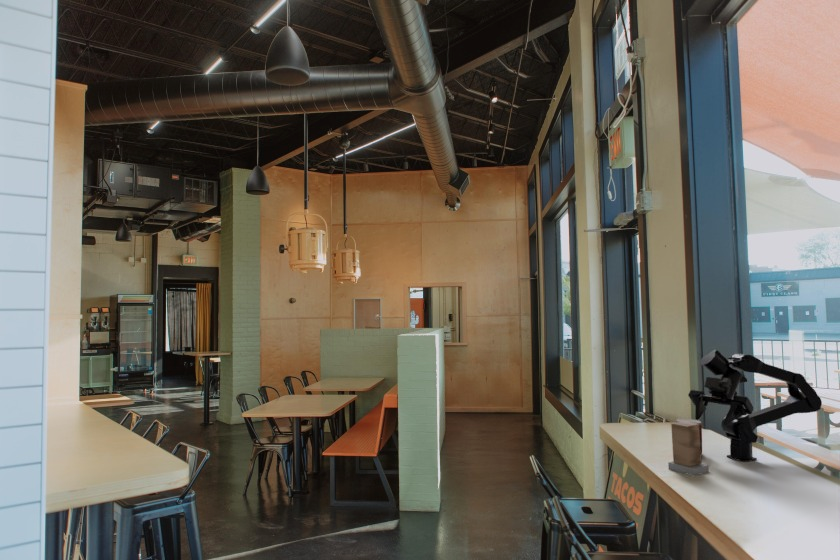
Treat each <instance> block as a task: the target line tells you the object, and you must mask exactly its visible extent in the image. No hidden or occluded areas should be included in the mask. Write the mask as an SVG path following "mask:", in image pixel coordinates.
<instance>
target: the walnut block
mask: <svg viewBox="0 0 840 560" xmlns="http://www.w3.org/2000/svg"><path fill="white" fill-rule="evenodd" d="M670 425H671V426H670V428H671V440H672V444H671V445H672V457H673V458H672V459H673V461H674V463H677V464H681V465H685V466H689V467H691V466H694V465H698V464H701V463H702V454H701V451H700V435H699V424H696V423H691V422H685V421H680V422H676V421H675V422H672V423H671V424H670ZM673 461H672V462H673Z"/></svg>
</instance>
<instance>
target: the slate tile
mask: <svg viewBox="0 0 840 560" xmlns="http://www.w3.org/2000/svg"><path fill="white" fill-rule="evenodd" d="M709 466H710V465H709V464H705V463H702V462H701V464H698V465H694V466H691V467H689V466H685V465H681V464H677V463H674V461H669V462H668V466H667V467H668V470H672V471H674V470H675V472H678V471H680V472H679V473H681V472H683V473H682V474H685V473H688V474H691V475H690V476H692V475H694V476H696V475H695V474H698V475H701V474H700V473H702V474H707V473H709V472H710V471H709V470H710V468H709ZM688 474H687V475H688Z"/></svg>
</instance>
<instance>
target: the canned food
mask: <svg viewBox="0 0 840 560" xmlns="http://www.w3.org/2000/svg"><path fill="white" fill-rule="evenodd" d="M680 421H685V422H691V423H696V424H699V435H700V451H701V455H702V454H703V430H702V429H703V427H702V421H700V420H699V419H698V420H696V419H691V418H676V419H675V423H676V422H680Z"/></svg>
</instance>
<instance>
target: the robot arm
mask: <svg viewBox="0 0 840 560" xmlns="http://www.w3.org/2000/svg"><path fill="white" fill-rule="evenodd" d="M700 365H702V366H703V367H704V368H706V370H707V371H708V372H710V373H711V374H712V375H714V376H720V377H718V378H717V377H710V376H706V377H705V381H704V387H705V388H706V389H708V393H709V394H710V395H707V394H705V392H704V391H703V390H696V389H690V391H689V393H688V394H687V395H688V397H689V399H690V400H691V402H692V403H693V405H694V407H695V413H694V414H695V416H694V418H695V420H698V421H699V419H700V418H701V417H702V415H704V413H705V411H706V410H707V406H708V404H709V403H713V404H719V405H722V406H729V410H728V412H727V414H725V415H726V416H725V417H723V418H722V421H721V425H720V426H721V429H722V430H723V431H724V432H725V435H726V437H727V438H730V441H729V443H730V444H729V450H730V451H729V453H730V454H728V455H726V458H730V459H734V460H737V461H741V462H749V461H750V460H751V461H757V460H758V458H757V457H755V456H754V457H753V443H755V444H756V443H757V441H758V438H759V437H758V435H757V434H756V433H755V432H754V431H755V430H756V429H757V427H760V426H763V425H765V424H769V423H771V422H775V421H777V420H780V419H783V418H786V417H789V416H791V415H795V414H807V413H815V412H818V411H820V410H821V408H822V398H821V397H820V396H819V395H818V393H817V392H816V391H817V390H815V389H814V387H812V385H810V383H808V381H807V380H806V377H805V376H804V375H803V374H802V373H798V372H793V371H790V370H786V369H783V368H781V367H778V366H774V365H772V364H771V365H770V364H768V363H765V362H763V360H761V359H759V358H757V357H756V356H753V355H752V354H747V353H746V354H745V353H734V354H733V355H732V356H731V357H727V358H726V357H725V356H724V355H723V354H722V353H721V352H720V351H719V350H717V349H713V350H712V351H711V352H709V353H707V354H706V355H704V356H703V357H702V358H701V360H700ZM741 372H744V373H745V372H746V373H753V374H759V375H761V376H766V377H769V378H772V379H775V380H779V381H781V382H784V383H786V385H787V392H788V394H789V396H787V398H786V399H785V400H784V401H781V402H779V403H776V404H773V405H770V406H767V407H765V408H761V409H759V410H757V411H754V405H753V404H752V402H751V400H750V399H749V397H748V396H745V395H738V392H737V389H738V387H739V385H740V384H744V383H748V378H747V377H746V375H745V374H744V373H743V374H742V373H741ZM751 461H750V462H751Z"/></svg>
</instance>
